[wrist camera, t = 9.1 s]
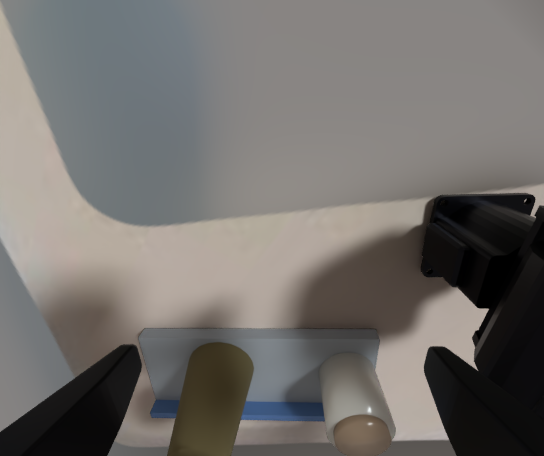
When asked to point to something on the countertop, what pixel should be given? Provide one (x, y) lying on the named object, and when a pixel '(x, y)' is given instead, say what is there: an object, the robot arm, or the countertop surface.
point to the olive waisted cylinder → (211, 401)
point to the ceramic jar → (355, 406)
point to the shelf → (256, 366)
